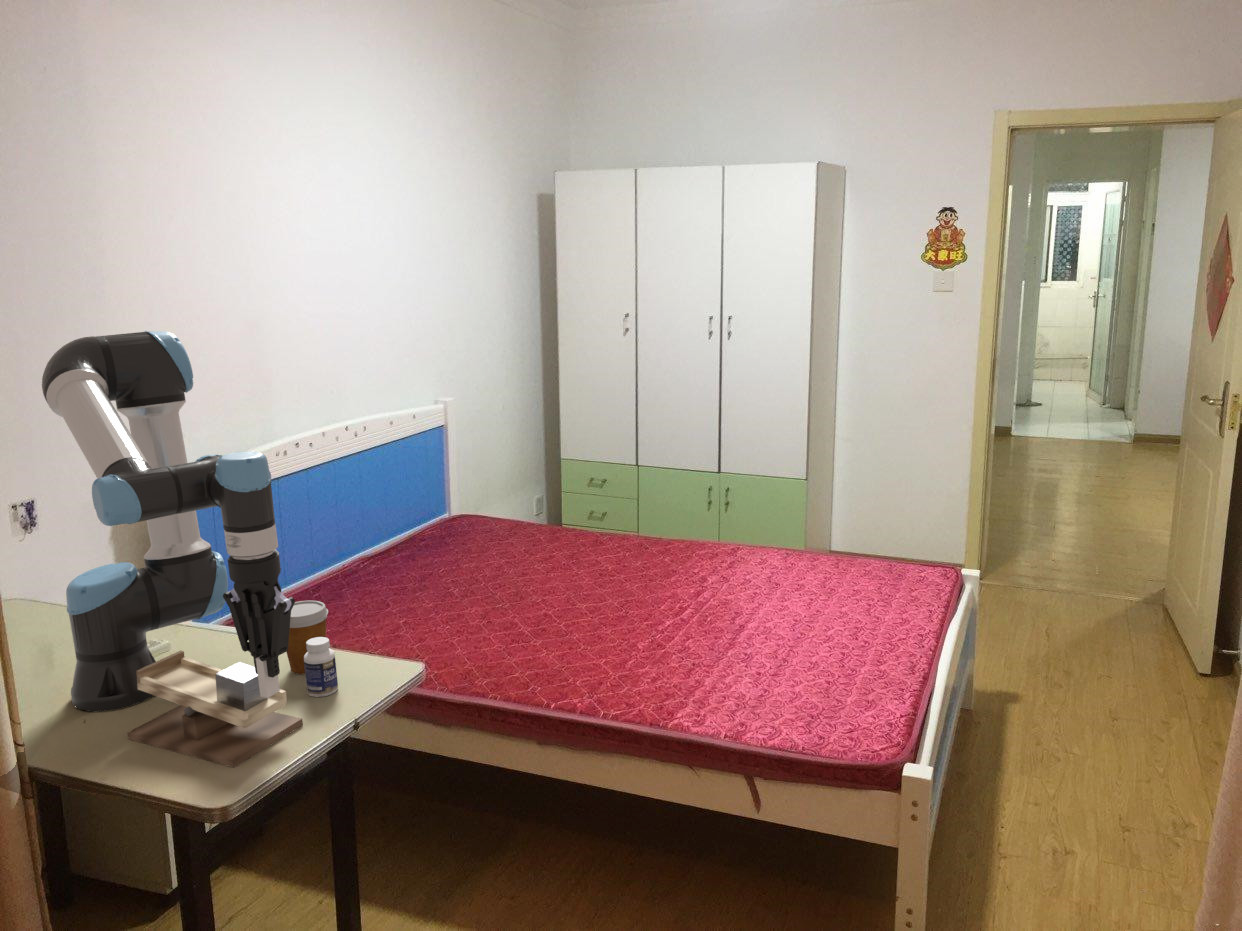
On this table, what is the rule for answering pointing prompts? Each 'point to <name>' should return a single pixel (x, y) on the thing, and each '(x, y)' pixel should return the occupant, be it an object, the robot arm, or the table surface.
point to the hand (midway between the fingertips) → (270, 693)
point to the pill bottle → (320, 668)
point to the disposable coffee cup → (304, 630)
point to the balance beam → (199, 690)
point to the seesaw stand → (213, 735)
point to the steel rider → (238, 687)
